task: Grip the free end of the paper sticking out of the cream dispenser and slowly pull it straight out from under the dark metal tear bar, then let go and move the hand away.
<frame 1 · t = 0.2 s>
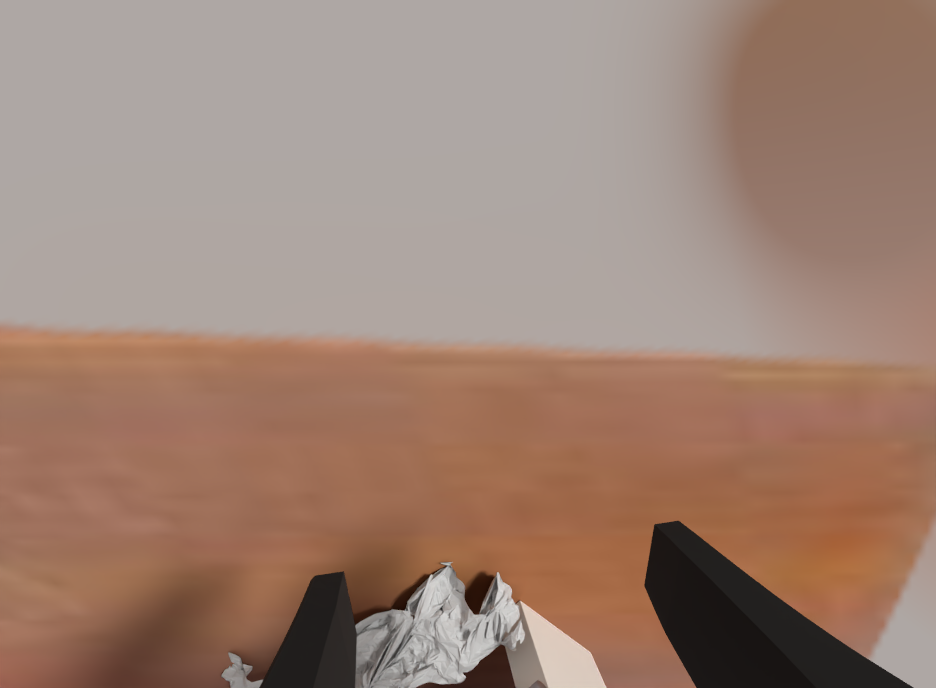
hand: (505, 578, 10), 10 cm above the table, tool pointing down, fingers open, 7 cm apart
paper: (372, 621, 23), on the table
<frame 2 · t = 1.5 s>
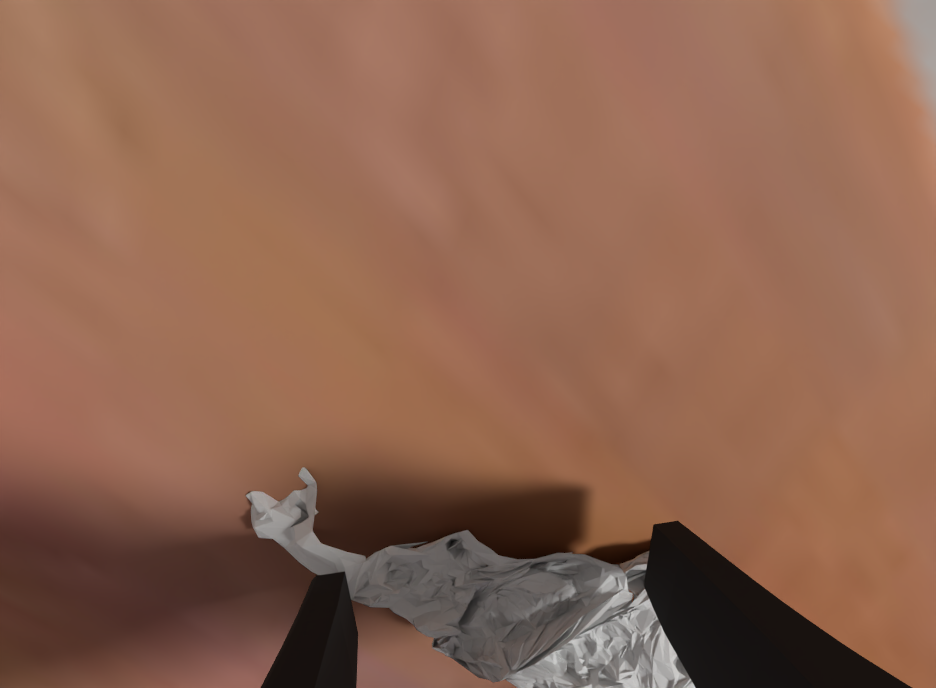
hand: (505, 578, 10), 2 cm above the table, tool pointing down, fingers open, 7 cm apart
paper: (513, 552, 13), on the table, touching gripper
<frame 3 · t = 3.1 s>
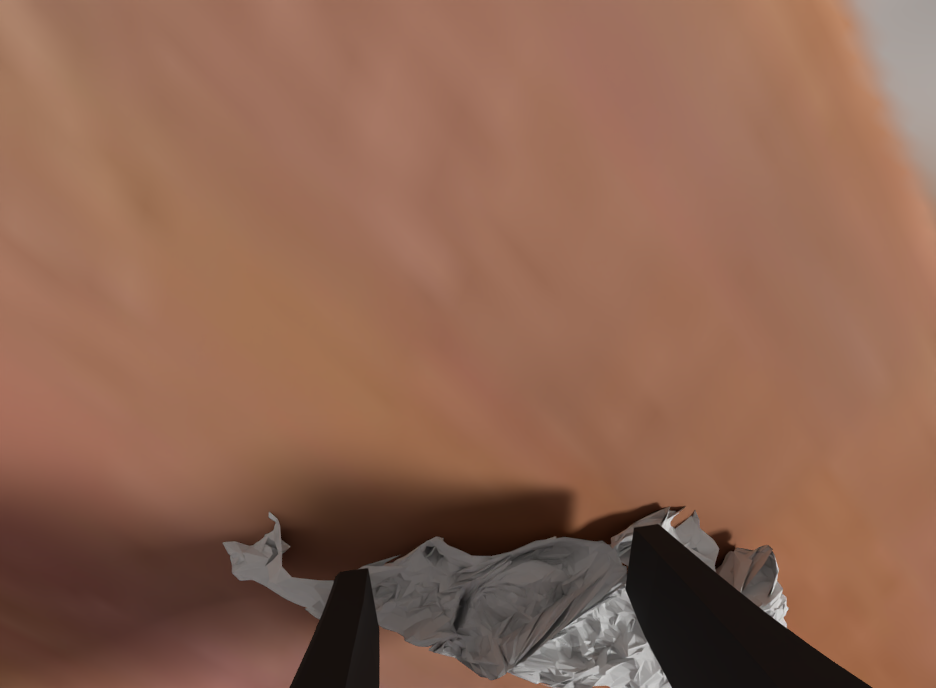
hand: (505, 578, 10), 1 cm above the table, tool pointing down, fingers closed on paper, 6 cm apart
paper: (506, 544, 13), on the table, touching gripper
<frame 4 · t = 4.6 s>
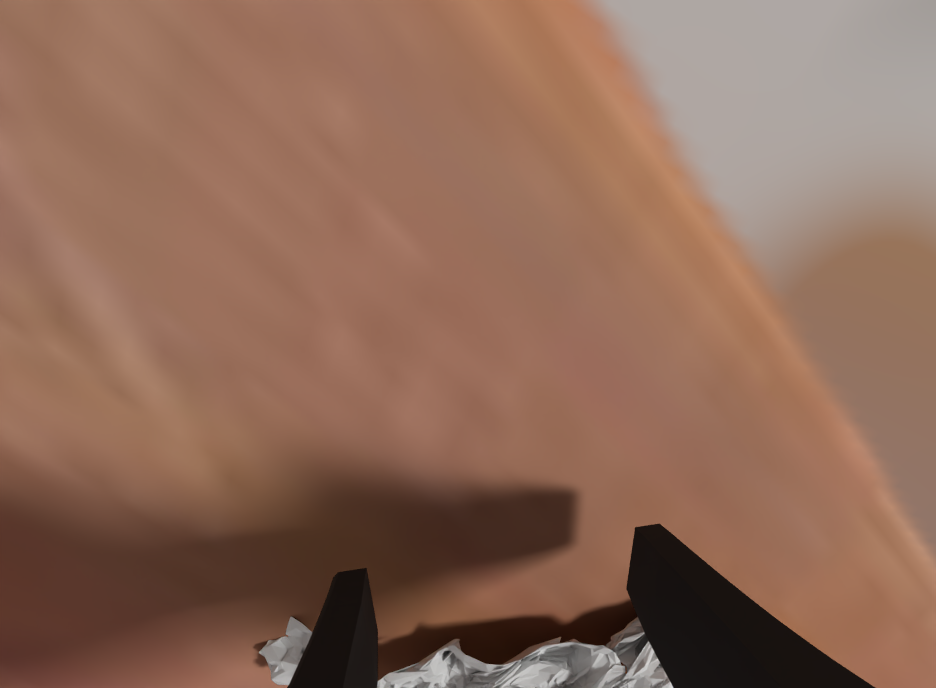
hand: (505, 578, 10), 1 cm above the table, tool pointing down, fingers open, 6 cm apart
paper: (515, 635, 14), on the table
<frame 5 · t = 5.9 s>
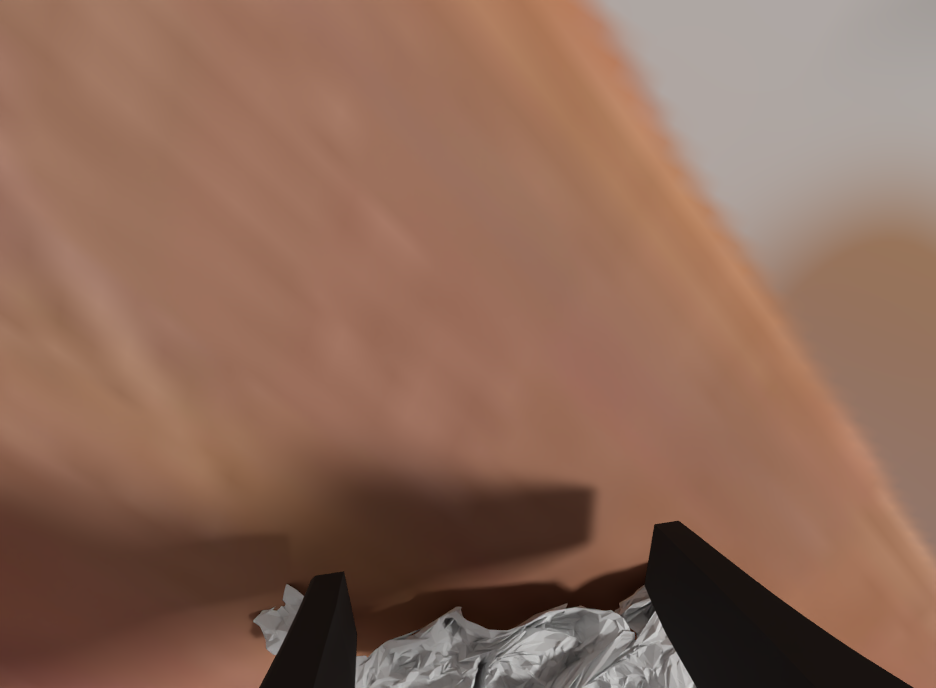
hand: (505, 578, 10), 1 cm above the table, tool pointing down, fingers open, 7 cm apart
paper: (520, 605, 14), on the table
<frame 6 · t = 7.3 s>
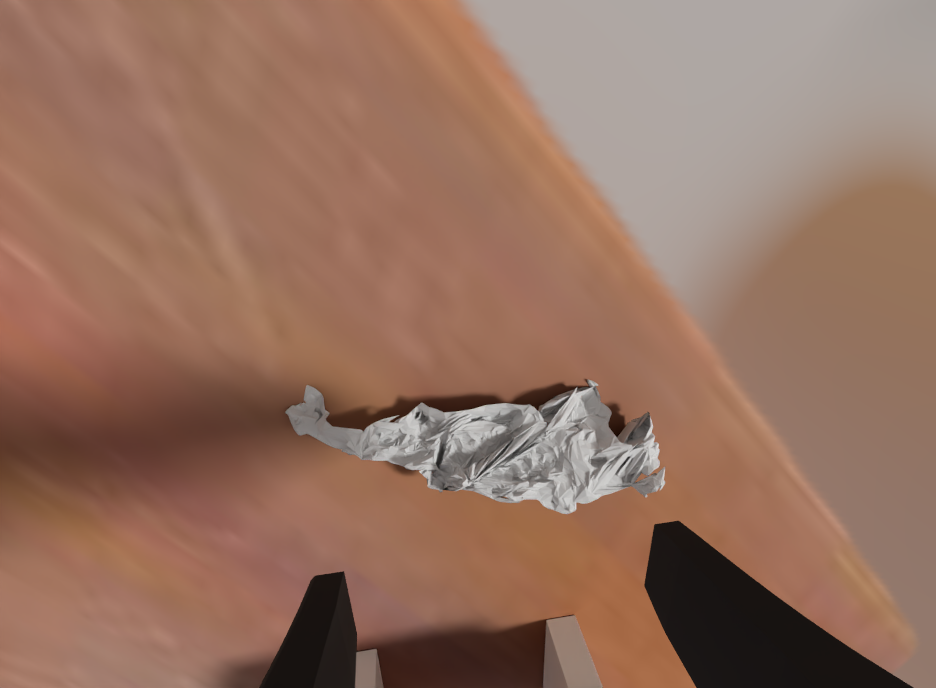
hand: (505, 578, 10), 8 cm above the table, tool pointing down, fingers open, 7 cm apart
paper: (472, 421, 19), on the table
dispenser: (465, 669, 25), on the table
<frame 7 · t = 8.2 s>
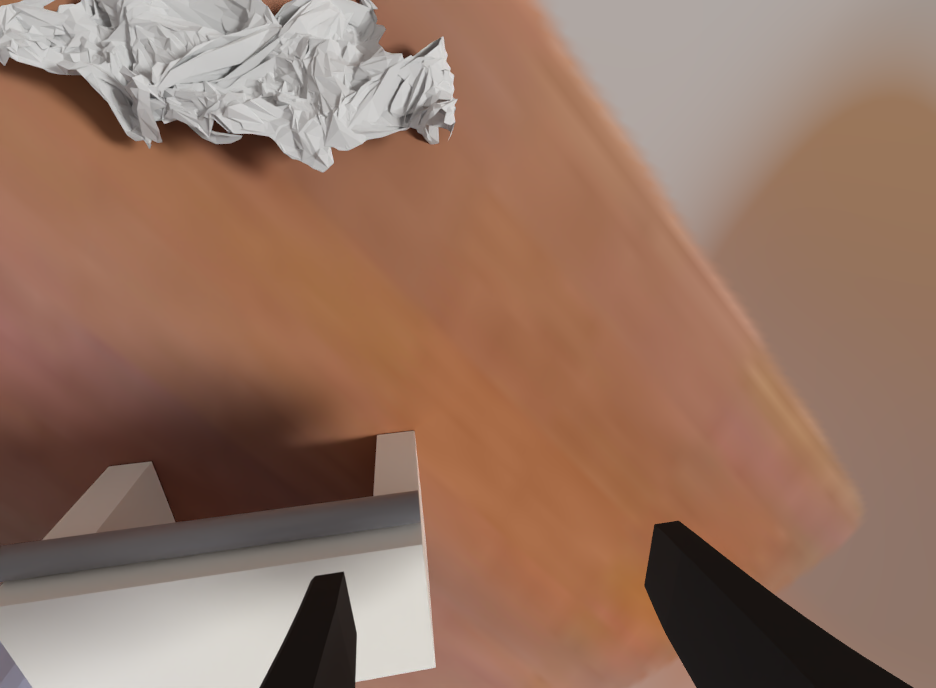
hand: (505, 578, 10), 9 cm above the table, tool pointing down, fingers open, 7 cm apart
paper: (211, 71, 14), on the table
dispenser: (282, 503, 20), on the table
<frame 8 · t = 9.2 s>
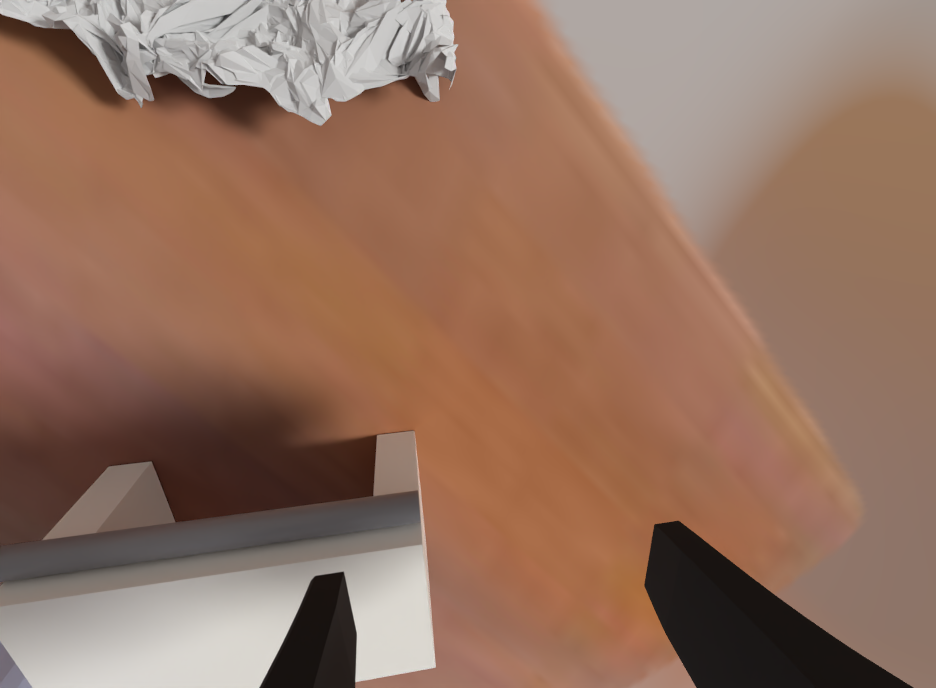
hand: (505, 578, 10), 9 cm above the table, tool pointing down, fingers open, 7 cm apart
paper: (203, 29, 14), on the table
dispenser: (282, 503, 20), on the table
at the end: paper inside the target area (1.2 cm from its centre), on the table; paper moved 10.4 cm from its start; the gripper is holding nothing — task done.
